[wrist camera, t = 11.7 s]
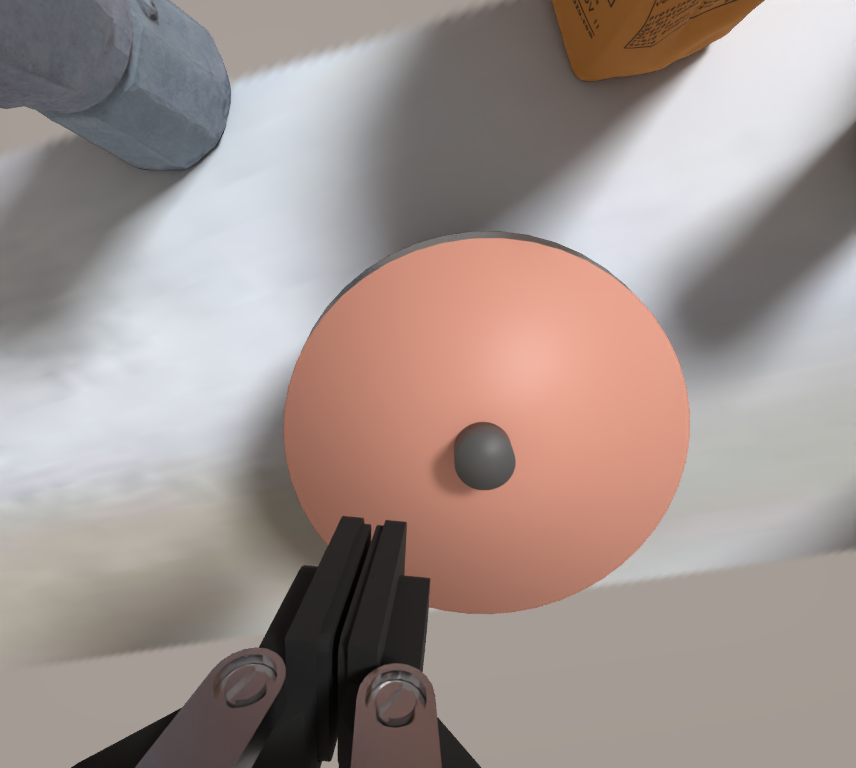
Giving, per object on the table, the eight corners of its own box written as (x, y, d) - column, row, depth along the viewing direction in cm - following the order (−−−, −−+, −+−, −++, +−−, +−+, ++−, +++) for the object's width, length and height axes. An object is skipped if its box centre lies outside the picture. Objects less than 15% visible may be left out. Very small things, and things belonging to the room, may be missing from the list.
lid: (716, 251, 18) (759, 251, 16) (637, 608, 23) (660, 652, 20) (287, 226, 19) (262, 222, 16) (296, 582, 23) (278, 622, 21)
